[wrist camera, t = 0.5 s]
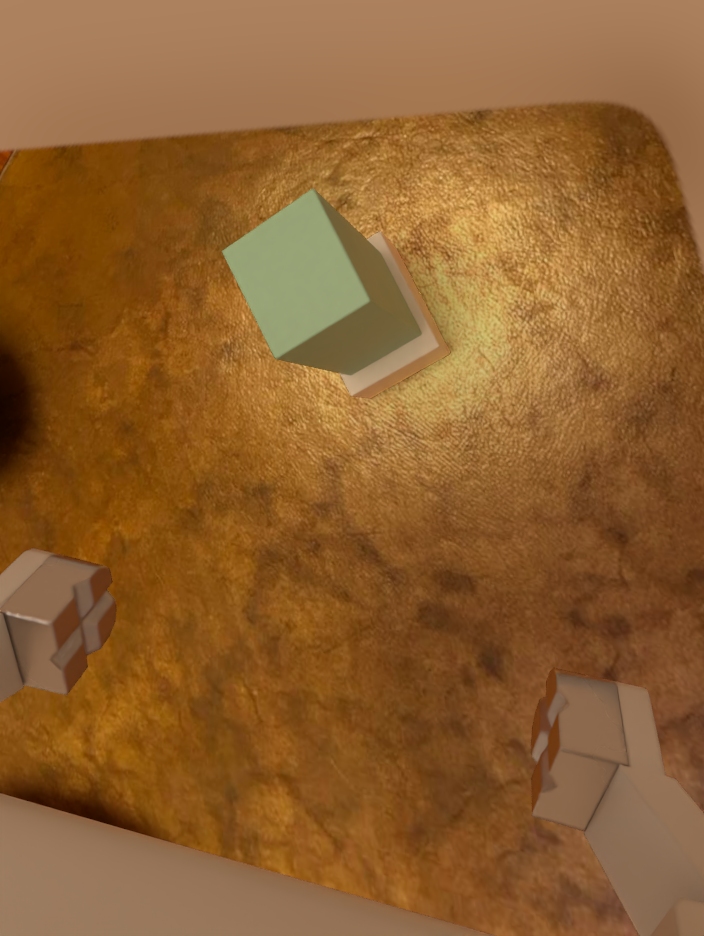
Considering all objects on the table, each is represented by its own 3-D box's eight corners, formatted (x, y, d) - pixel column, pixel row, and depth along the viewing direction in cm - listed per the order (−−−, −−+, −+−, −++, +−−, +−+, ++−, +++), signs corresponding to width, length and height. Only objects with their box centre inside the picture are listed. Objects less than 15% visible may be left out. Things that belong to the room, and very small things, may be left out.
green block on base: (396, 247, 31) (312, 156, 20) (451, 353, 30) (394, 317, 20) (317, 296, 32) (200, 235, 21) (369, 399, 31) (275, 388, 21)
